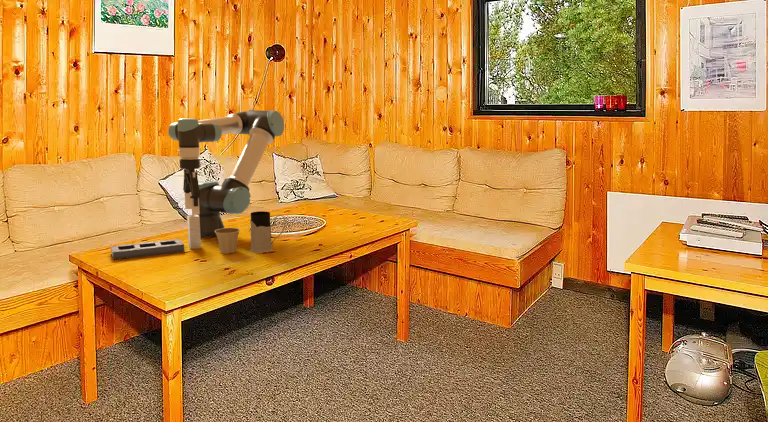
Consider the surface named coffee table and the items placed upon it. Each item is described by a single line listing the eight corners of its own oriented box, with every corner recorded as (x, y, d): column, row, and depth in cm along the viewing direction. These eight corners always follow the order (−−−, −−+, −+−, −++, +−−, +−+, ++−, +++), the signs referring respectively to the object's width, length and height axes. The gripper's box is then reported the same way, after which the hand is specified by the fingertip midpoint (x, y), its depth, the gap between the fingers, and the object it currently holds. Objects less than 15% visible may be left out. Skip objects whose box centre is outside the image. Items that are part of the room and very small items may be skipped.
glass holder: (249, 248, 220) (247, 211, 218) (284, 245, 225) (283, 209, 223) (251, 253, 212) (250, 215, 210) (288, 250, 217) (287, 213, 215)
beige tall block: (199, 245, 224) (197, 214, 221) (201, 247, 220) (199, 216, 218) (188, 246, 222) (186, 215, 219) (190, 249, 218) (188, 217, 216)
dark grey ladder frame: (179, 246, 223) (179, 238, 222) (184, 251, 214) (183, 244, 214) (111, 253, 210) (110, 246, 210) (113, 260, 202) (112, 252, 201)
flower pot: (214, 255, 209) (213, 233, 208) (216, 249, 219) (215, 228, 217) (239, 254, 211) (238, 232, 210) (241, 248, 220) (240, 227, 219)
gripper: (174, 156, 223) (176, 207, 227) (185, 161, 202) (188, 217, 206) (193, 155, 227) (195, 206, 230) (206, 160, 205) (209, 216, 209)
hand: (192, 211), depth 218 cm, fingers open, 13 cm apart
